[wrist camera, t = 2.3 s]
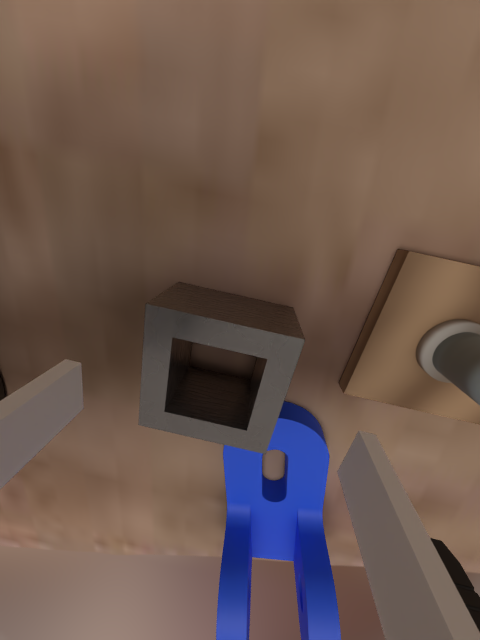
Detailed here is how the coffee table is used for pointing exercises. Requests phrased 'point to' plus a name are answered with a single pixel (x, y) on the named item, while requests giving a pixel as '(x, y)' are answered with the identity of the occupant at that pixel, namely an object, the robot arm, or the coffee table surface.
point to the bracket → (279, 527)
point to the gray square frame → (211, 387)
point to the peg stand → (422, 339)
